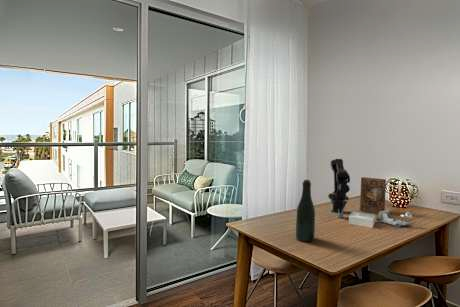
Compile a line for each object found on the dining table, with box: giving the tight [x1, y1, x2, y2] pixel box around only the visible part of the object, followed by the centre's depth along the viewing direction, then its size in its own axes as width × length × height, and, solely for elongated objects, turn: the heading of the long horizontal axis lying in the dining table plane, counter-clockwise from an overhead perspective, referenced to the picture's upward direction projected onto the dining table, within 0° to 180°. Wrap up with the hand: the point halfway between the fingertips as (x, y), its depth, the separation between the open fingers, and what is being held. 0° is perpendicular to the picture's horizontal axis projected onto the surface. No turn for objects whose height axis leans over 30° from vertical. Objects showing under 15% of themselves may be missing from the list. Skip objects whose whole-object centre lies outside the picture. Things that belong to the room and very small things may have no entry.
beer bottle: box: [294, 179, 316, 243], centre depth 155 cm, size 10×10×33 cm
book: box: [359, 177, 387, 214], centre depth 211 cm, size 16×6×25 cm, turn 58°
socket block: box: [348, 210, 376, 229], centre depth 185 cm, size 14×14×5 cm
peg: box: [337, 209, 344, 220], centre depth 195 cm, size 3×3×10 cm
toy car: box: [375, 209, 413, 229], centre depth 184 cm, size 18×10×12 cm
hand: (340, 212), depth 195 cm, fingers closed on peg, 3 cm apart
